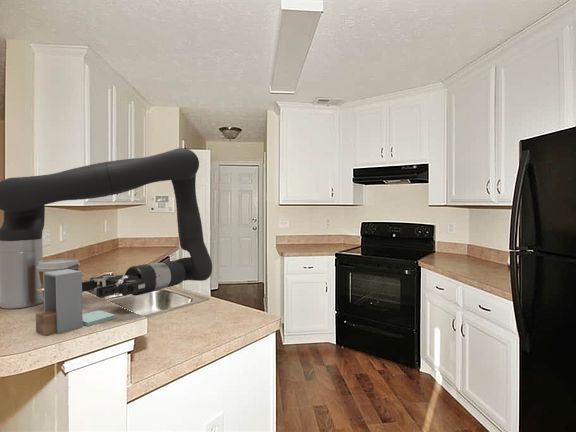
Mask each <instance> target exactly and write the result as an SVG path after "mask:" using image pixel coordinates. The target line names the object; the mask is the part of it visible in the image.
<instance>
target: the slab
mask: <svg viewBox="0 0 576 432" xmlns="http://www.w3.org/2000/svg"><path fill="white" fill-rule="evenodd" d="M82 318H83V325H84V326H87V327H90V326H93V325H98V324H100V323H101V324H102V323H104V322H107V321H112V320H115V319H117V314H114V313H111V312H108V311H104V310H99V309H97V310H95V311H91V312H90V311H89V312H87V313H82Z"/></svg>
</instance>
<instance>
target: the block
mask: <svg viewBox="0 0 576 432" xmlns="http://www.w3.org/2000/svg"><path fill="white" fill-rule="evenodd" d="M35 333H37V334H38V335H39V334H40V335H41V336H44V337H46V336H47V337H48V336H51V335H54V334H57V323H56V309H54V310H49V311H45V312H44V311H41V312H37V313H35Z"/></svg>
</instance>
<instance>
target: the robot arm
mask: <svg viewBox="0 0 576 432" xmlns="http://www.w3.org/2000/svg"><path fill="white" fill-rule="evenodd" d="M199 168H200V160H199V158H198V155H197V154H196V153H195V152H194V151H193V150H191V149H188V148H184V147H178V148H175V149H171V150H168V151H165V152H161V153H158V154H154V155H149V156H144V157H136V158H135V157H134V158H125V159H118V160H117V159H116V160H109V161H104V162H97V163H93V164H88V165H84V166H79V167H74V168H71V169H66V170H63V171H58V172H54V173H50V174H48V173H47V174H42V175H31V176H19V177H18V176H17V177H8V178H5V179H3V180H0V210H1V211H2V212H3V222H2V225H1V227H0V308H2V309H22V308H28V307H32V306H33V307H34V306H36V305H40V304H42V303H44V299H43V293H42V291H37V290H36V289H37V288H40V287H41V281H40V276H39V271H38V269H37V268H36V267H37V266H38V263H39V262H40V261H44V260H43V259H44V257H43V254H44V253H43V252H44V251H43V231H44V227H45V217H46V215H45V214H46V213H45V211H46V209H45V208H46V205H50V204H54V203H58V202H63V201H64V202H65V201H77V200H78V201H79V200H90V199H98V198H104V197H109V196H115V195H119V194H124V193H126V192H129V191H132V190H136V189H138V188H141V187H143V186H146V185H149V184H153V183H158V182H165V181H171V184H172V187H173V188H172V189H173V192H174V196H175V206H176V207H175V208H176V218H177V219H176V221H177V222H176V223H177V231H178V232H177V233H178V239H179V245H180V248H181V249H182V250H183V251H187V252H188V254H189V255H190V256H189V257H188V256H187V257H182V258H178V259H175V260H171V261H170V260H169V261H163V262H151V263H144V264H139V265H138V264H137V265H132V266H130V267H129V268H127V270H126V271H125V274H124V275H123V274H121V273H119V274H113V273H112V274H107V275H101V276H95V277H94V276H92V277H90V278H89V280H86V281H82V293H83V292H89V291H96V297H97V298H101V299H102V298H104V297H109V296H113V295H115V296H119V295H122V296H123V297H125V296H128V295H132V296H135V297H136V296H140V295H141V296H142V295H145V294H149V293H153V292H159V291H161V290H163V289H165V288H167V289H168V288H171V287H174V286H175V287H176V286H177V285H179V284H182V283H183V282H184V281H198V282H203V281H207V280H208V279H209V278H210V277H211V275H212V273H213V263H212V259H211V256H210V254H209V252H208V249H207V247H206V244H205V241H204V233H203V225H202V224H203V223H202V218H201V214H200V209H199V206H198V200H197V192H196V191H197V190H196V189H197V188H196V177H197V173H198V170H199ZM98 282H99V283H98Z"/></svg>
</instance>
